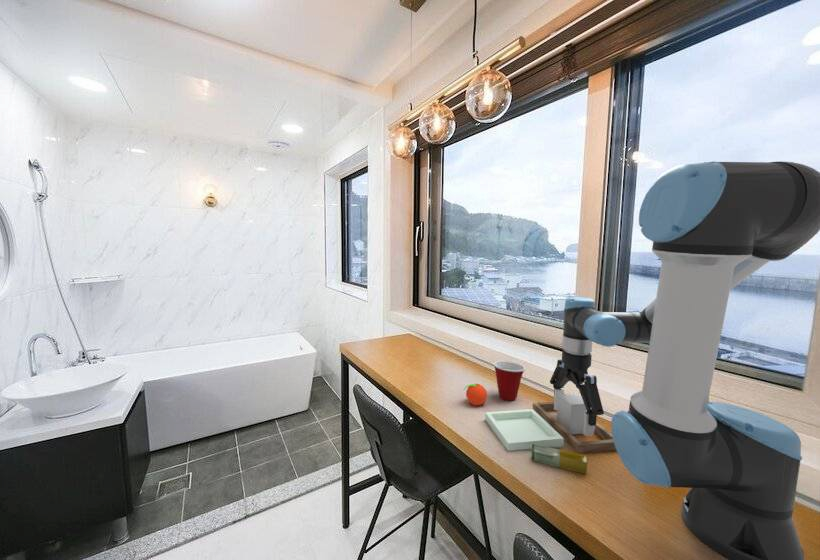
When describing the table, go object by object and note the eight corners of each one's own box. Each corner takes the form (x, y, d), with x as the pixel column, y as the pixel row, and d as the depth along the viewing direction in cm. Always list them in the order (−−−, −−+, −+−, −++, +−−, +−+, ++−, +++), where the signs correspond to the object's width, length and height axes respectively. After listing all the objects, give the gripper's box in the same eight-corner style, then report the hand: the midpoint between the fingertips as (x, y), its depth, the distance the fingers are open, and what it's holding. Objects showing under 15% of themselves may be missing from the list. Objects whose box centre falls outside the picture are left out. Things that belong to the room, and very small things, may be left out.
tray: (563, 449, 83) (563, 438, 82) (507, 454, 80) (508, 443, 80) (532, 418, 98) (532, 409, 97) (485, 421, 96) (485, 412, 95)
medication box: (531, 464, 77) (531, 450, 76) (531, 457, 79) (531, 443, 79) (587, 477, 72) (587, 462, 72) (585, 468, 75) (586, 454, 74)
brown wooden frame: (621, 450, 82) (622, 441, 82) (578, 454, 80) (579, 445, 80) (567, 407, 104) (567, 400, 104) (532, 410, 103) (532, 403, 102)
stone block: (588, 433, 90) (590, 403, 89) (569, 435, 89) (571, 404, 88) (574, 422, 96) (576, 393, 95) (556, 423, 95) (558, 395, 94)
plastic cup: (530, 398, 111) (531, 365, 110) (513, 408, 104) (514, 373, 103) (503, 387, 119) (504, 357, 118) (486, 396, 112) (487, 363, 111)
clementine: (464, 409, 103) (464, 388, 102) (461, 399, 110) (461, 379, 109) (488, 409, 103) (489, 388, 102) (484, 399, 110) (485, 380, 109)
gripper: (623, 366, 78) (617, 446, 81) (561, 338, 103) (558, 399, 105) (596, 368, 77) (591, 449, 79) (540, 339, 102) (537, 401, 104)
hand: (572, 421), depth 92 cm, fingers open, 13 cm apart
